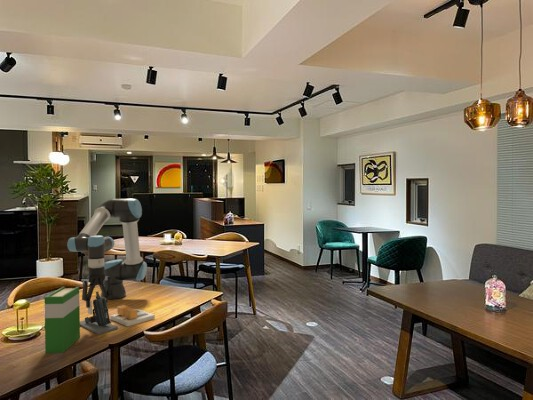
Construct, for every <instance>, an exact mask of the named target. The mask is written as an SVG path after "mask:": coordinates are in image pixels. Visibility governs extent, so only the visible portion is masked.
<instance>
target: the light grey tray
mask: <svg viewBox="0 0 533 400" xmlns="http://www.w3.org/2000/svg"><path fill="white" fill-rule="evenodd" d="M135 309H136V310H137V318H133V319H128V318H126V317H125V315H124V316H121V315H119V314H117V313H115V314H109V318H110V321H111V320H112V321H113V322H117V323H118V324H121V325H123V326H125V327H130V326H134V325H137V324H138V325H139V324H140V323H141V324H142V323H144V322H147V321H151V320H155V318H156V317H155V313H154V314H153V313H150V312H148V311H144V310H143V309H140V308H135Z"/></svg>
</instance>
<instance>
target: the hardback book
mask: <svg viewBox="0 0 533 400" xmlns="http://www.w3.org/2000/svg"><path fill="white" fill-rule="evenodd" d="M80 311H81V310H80V286H79V285H78V286H76V287H74V288H72V287H70V288H69V287H67V288H66V287H65V286H61V287H60V288H58V289H57V290H54V291H52V292H51V293H49V294H48V295H45V296H44V336H45V337H44V343H45V344H44V345H45V346H44V347H45V351H44V352H45V354H63V353H65V352H66V351H67V350H68V349H69V348H71V346H73V344H74V343H76V341H78V340H79V339H80V337H81V328H80V327H81V326H80V322H81V320H80V317H81V315H80V314H81V313H80Z"/></svg>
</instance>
